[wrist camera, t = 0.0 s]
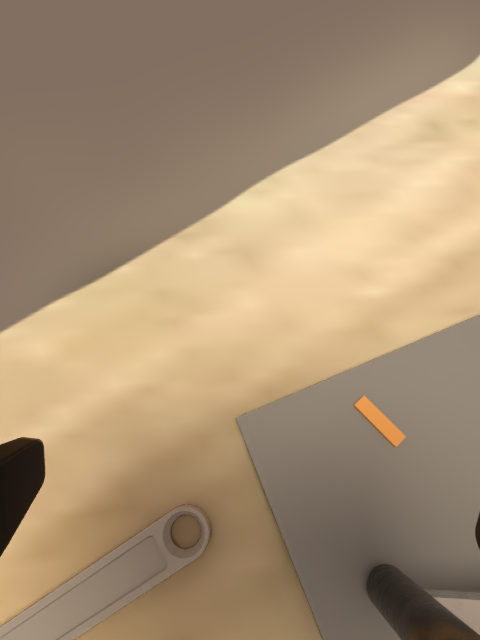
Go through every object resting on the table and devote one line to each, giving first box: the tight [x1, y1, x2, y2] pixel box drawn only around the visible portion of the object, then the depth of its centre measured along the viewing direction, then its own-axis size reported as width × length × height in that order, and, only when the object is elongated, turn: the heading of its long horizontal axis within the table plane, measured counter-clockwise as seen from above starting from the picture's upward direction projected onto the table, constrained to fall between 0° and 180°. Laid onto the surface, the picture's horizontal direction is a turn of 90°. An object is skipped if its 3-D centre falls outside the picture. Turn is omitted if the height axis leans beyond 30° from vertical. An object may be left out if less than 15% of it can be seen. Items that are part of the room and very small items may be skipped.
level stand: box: [236, 315, 480, 640], centre depth 20 cm, size 20×17×1 cm
